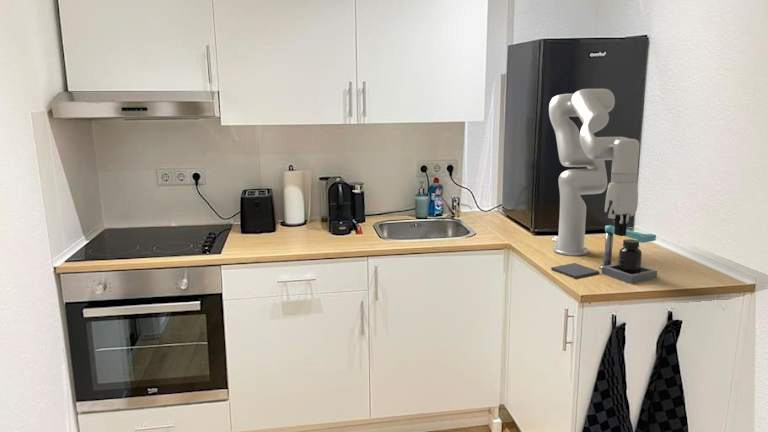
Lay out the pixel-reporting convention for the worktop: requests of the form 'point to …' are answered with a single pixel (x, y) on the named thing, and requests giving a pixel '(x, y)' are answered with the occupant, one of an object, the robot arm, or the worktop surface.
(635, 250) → the supplement bottle
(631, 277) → the bottle holder
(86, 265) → the worktop surface
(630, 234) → the latch bar
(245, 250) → the worktop surface
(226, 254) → the worktop surface
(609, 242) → the latch post
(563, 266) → the rubber mat
